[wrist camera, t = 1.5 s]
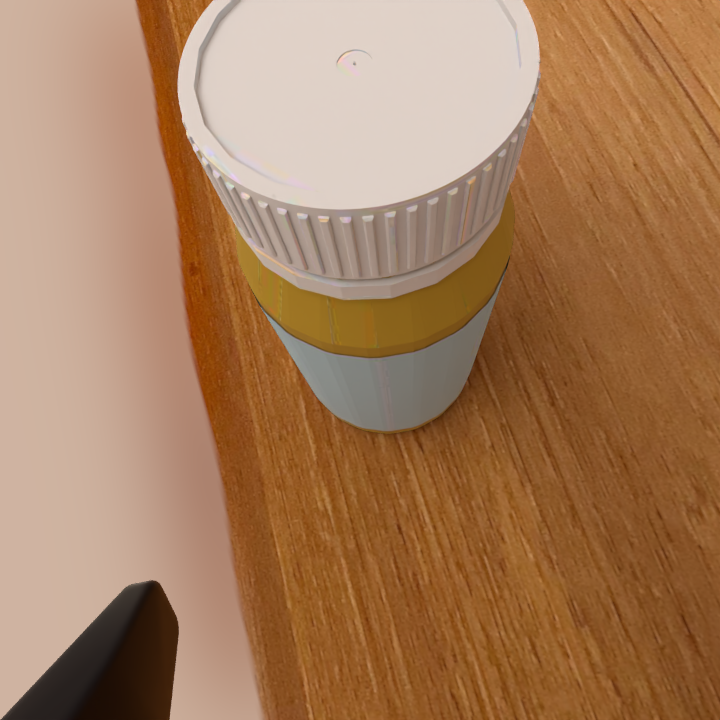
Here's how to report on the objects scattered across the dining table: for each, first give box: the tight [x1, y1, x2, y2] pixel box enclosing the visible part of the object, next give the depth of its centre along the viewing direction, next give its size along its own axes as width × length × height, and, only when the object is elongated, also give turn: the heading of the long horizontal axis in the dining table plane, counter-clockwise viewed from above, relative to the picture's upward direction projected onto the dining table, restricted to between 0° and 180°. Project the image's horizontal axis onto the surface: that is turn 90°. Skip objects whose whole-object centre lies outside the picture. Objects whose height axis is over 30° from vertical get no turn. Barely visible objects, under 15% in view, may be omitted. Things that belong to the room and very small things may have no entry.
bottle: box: [178, 0, 541, 434], centre depth 16 cm, size 7×7×15 cm
